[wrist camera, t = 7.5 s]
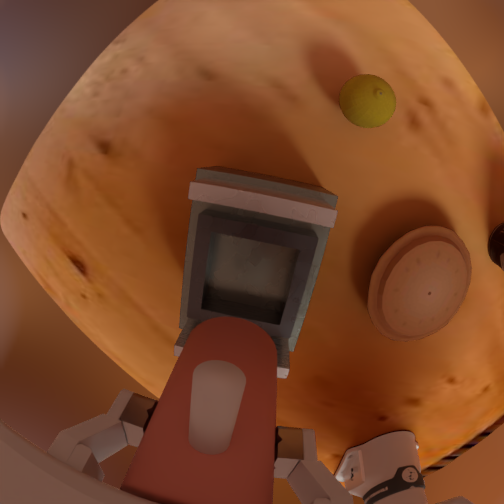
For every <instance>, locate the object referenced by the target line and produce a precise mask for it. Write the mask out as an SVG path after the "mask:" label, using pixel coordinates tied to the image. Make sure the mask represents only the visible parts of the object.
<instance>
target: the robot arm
mask: <svg viewBox="0 0 504 504" xmlns="http://www.w3.org/2000/svg"><path fill="white" fill-rule="evenodd" d="M157 404H158V401H157V400H154V399H151V398H148V397H145V396H142V395H140V394H137V393H135V392H132V391H129V390H126V389H123V390H121V391H120V393H119V395H118V396H117V398H116V400H115V401H114V403H113V405H112V406H111V408H110V410H109V411H108V413H107V415H106V414H101V415H99V416H97V417H95V418H92V419H90V420H88V421H85V422H83V423H80V424H78V425H76V426H73V427H71V428H68V429H66V430H63V431H61V432H60V433H59V435H58V436H57V438H56V439H55V441H54V442H53V444H52V445H51V447H50V448H49V450H48V451H47V452H45V451H44V450H42V449H41V448H39V447H38V446H36V445H35V444H33V443H32V442H30V441H29V440H27V439H26V438H25V437H23V436H22V435H20V434H19V433H18V432H16V431H15V430H14V429H12V428H11V427H10V426H8V425H7V424H6V423H5V422H3V421H2V420H1V419H0V504H159V503H156V502H153V501H150V500H147V499H144V498H141V497H138V496H135V495H132V494H130V493H127V492H125V491H122V490H120V489H117V488H114V487H112V486H110V485H108V484H105V483H103V482H102V480H103V478H104V476H105V475H104V473H103V471H102V469H101V468H100V466H99V464H98V463H99V462H101V461H102V460H104V459H106V458H108V457H109V456H111V455H112V454H114V453H116V452H117V451H119V450H121V449H122V448H123V447H125V446H127V445H128V444H130V445H133V446H135V447H138V446H139V444H140V442H141V439H142V437H143V435H144V432H145V430H146V428H147V426H148V424H149V421H150V419H151V417H152V415H153V412H154V410H155V408H156V406H157ZM418 448H419V446H418V443H417V442H415V435H414V434H413V433H412V432H408V431H398V432H392V433H388V434H385V435H382V436H379V437H377V438H375V439H373V440H370V441H369V442H367V443H365V444H363V445H360V446H357V447H354V448H351V449H348V450H347V451H346V453H345V455H344V457H343V459H342V461H341V463H340V465H339V467H338V469H337V471H336V473H335V475H334V476H333V474H332V473H331V472H330V471H329V470H328V469H327V468H326V466H325V465H324V464H323V463H322V462H321V461H317V451H316V440H315V431H314V430H313V429H301V428H294V427H283V426H277V427H276V434H275V461H274V477H276V478H286V479H287V481H288V483H289V484H290V486H291V487H292V489H293V491H294V492H295V494H296V495H297V497H298V498H299V500H300V501H301V503H302V504H353V498H352V495H351V494H353V495H356V496H359V497H362V498H363V500H364V502H365V504H428V502H427V499H426V495H425V492H424V489H425V484H424V483H425V482H424V480H423V477H422V474H420V472H421V466H420V461H419V456H418V452H417V449H418ZM339 481H341V482H345V487H346V489H345V488H344V487H343V486H342V484H341V483H340V482H339ZM436 504H473V503H472V502H471V501H469V500H468V499H466V498H464V497H462V496H458V497H454V498H451V499H448V500H445V501H442V502H440V503H436Z"/></svg>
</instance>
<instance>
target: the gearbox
mask: <svg viewBox="0 0 504 504" xmlns="http://www.w3.org/2000/svg"><path fill="white" fill-rule="evenodd" d="M188 199H191V200H192V207H191V214H190V222H189V230H188V238H187V246H186V255H185V265H184V275H183V285H182V297H181V309H180V323H179V328H181V329H183V330H182V332H181V334H180V335H179V337H178V339H177V341H176V343H175V345H174V356H178V357H179V356H180V354H181V352H182V349H183V347H184V345H185V343H186V341H187V339H188V337H189V335H190V333H191V332H192V330H193V329H194V328H195V327H196V326H197V325H199V324H200V323H202V322H204V321H206V320H208V319H212V318H216V317H236V318H241V319H245V320H247V321H250V322H252V323H254V324H256V325H258V326H259V327H261V328H262V329H263V330H264V331H265V332H267V334H268V335H269V336H270V337H271V339H272V340H273V342H274V344H275V346H276V349H277V377H278V378H285V379H286V378H287V375H288V373H289V370H290V363H289V351H292V352H293V351H294V348H295V345H296V342H297V339H298V336H299V333H300V330H301V327H302V324H303V321H304V318H305V315H306V312H307V308H308V305H309V302H310V299H311V295H312V292H313V289H314V285H315V282H316V279H317V275H318V272H319V268H320V265H321V261H322V257H323V254H324V250H325V246H326V243H327V239H328V235H329V231H330V227H331V228H334V224H335V220H336V216H337V212H338V211H337V210H336V209H335V207H336V203H337V199H338V196H337V195H335V194H333V193H331V192H330V191H328V190H326V189H325V188H323V187H319V186H315V185H310V184H306V183H302V182H297V181H292V180H288V179H283V178H278V177H273V176H268V175H263V174H258V173H253V172H248V171H242V170H236V169H231V168H225V167H219V166H213V167H204V168H197V173H196V180H195V181H191V182H190V188H189V195H188Z"/></svg>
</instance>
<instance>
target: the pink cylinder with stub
mask: <svg viewBox="0 0 504 504" xmlns="http://www.w3.org/2000/svg"><path fill="white" fill-rule="evenodd" d="M276 399H277V349H276V346H275V344H274V342H273V340H272V339H271V337H270V336H269V335H268V334H267V332H265V331H264V330H263V329H262V328H261V327H259V326H258V325H256V324H254V323H252V322H250V321H247V320H245V319H241V318H236V317H216V318H212V319H208V320H206V321H204V322H202V323H200V324H199V325H197V326H196V327H195V328H194V329H193V330H192V332H191V333H190V335H189V337H188V339H187V341H186V343H185V345H184V347H183V349H182V352H181V354H180V356H179V358H178V360H177V362H176V364H175V367H174V369H173V371H172V373H171V375H170V377H169V380H168V382H167V384H166V386H165V388H164V390H163V393H162V395H161V397H160V399H159V401H158V404H157V406H156V408H155V410H154V412H153V415H152V417H151V419H150V421H149V424H148V426H147V428H146V430H145V432H144V435H143V437H142V439H141V442H140V444H139V446H138V449H137V451H136V453H135V455H134V457H133V460H132V462H131V464H130V467H129V469H128V472H127V474H126V477H125V478H124V481H123V483H122V485H121V488H120V490H122V491H125V492H127V493H130V494H132V495H135V496H138V497H141V498H144V499H147V500H150V501H153V502H156V503H159V504H272V502H273V482H274V461H275V434H276Z"/></svg>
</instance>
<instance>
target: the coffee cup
mask: <svg viewBox="0 0 504 504" xmlns="http://www.w3.org/2000/svg"><path fill="white" fill-rule="evenodd" d="M489 255H490V258H491V260H492V261H493V262H494V263H495V264H497V265H498V266H499V267H500V268H502V270H503V271H504V223H502V224H500V225H499V226H497V227H496V228H495V230H494V231H493V233H492V235H491V237H490V241H489Z"/></svg>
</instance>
